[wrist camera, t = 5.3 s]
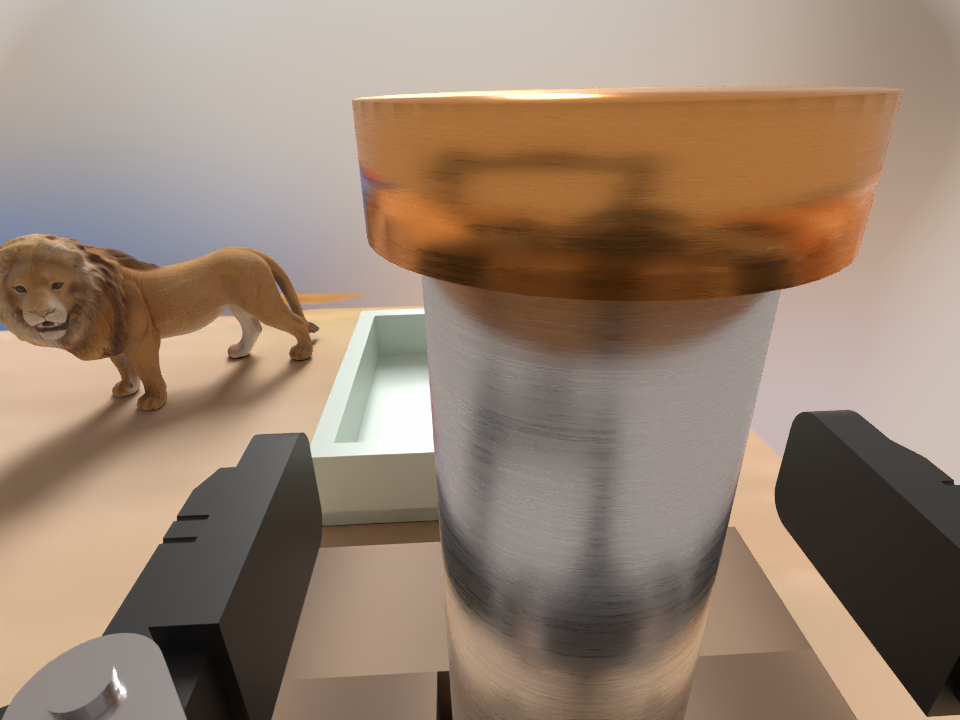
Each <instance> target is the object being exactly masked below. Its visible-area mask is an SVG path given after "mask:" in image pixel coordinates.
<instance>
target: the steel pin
mask: <svg viewBox="0 0 960 720" xmlns="http://www.w3.org/2000/svg"><path fill="white" fill-rule="evenodd" d="M903 91H904V90H902V89H894V88H877V87H876V88H875V87H831V86H830V87H829V86H826V87H825V86H735V87H734V86H728V87H726V86H722V87H721V86H719V87H643V88H641V87H639V88H588V89H587V88H586V89H545V90H511V91H509V90H508V91H480V92H479V91H478V92H451V93H427V94H407V95H389V96H375V97H364V98H357V99H352V105H353V114H354V123H355V132H356V141H357V150H358V159H359V168H360V177H361V187H362V196H363V205H364V214H365V222H366V232H367V239H368V242H369V245H370V246H371V247H372V248H373V250H374V251H375V252H376V253H377V254H379V255H380V256H382V257H383V258H385V259H386V260H388V261H389V262H391V263H394V264H396V265H398V266H400V267H403V268H405V269H407V270H410V271H413V272H416V273H419V274H422V283H423V298H424V312H425V327H426V341H427V356H428V370H429V385H430V399H431V414H432V428H433V443H434V457H435V472H436V486H437V501H438V515H439V530H440V544H441V559H442V573H443V588H444V602H445V617H446V631H447V646H448V660H449V675H450V689H451V704H452V718H453V720H684V718H685V714H686V709H687V705H688V700H689V696H690V691H691V687H692V682H693V678H694V674H695V669H696V665H697V660H698V656H699V651H700V647H701V643H702V638H703V634H704V629H705V625H706V620H707V616H708V611H709V607H710V603H711V598H712V594H713V589H714V585H715V580H716V576H717V572H718V567H719V563H720V558H721V554H722V549H723V545H724V541H725V536H726V532H727V527H728V523H729V518H730V514H731V509H732V505H733V501H734V496H735V492H736V487H737V483H738V478H739V474H740V470H741V465H742V461H743V456H744V452H745V447H746V443H747V438H748V434H749V430H750V425H751V421H752V416H753V411H754V407H755V403H756V399H757V394H758V390H759V385H760V381H761V376H762V372H763V368H764V363H765V359H766V354H767V350H768V345H769V340H770V336H771V332H772V328H773V323H774V318H775V314H776V310H777V305H778V301H779V297H780V292H781V289H786V288H791V287H795V286H799V285H802V284H806V283H810V282H813V281H816V280H820V279H822V278H825V277H827V276H829V275H832V274H834V273H837V272H839V271H840V270H842V269H843V268H845V267H846V266H848V265H849V264H851V263H852V261H853V260H854V259H855V257H856V256H857V254H858V252H859V248H860V244H861V241H862V237H863V233H864V230H865V226H866V223H867V219H868V216H869V212H870V208H871V205H872V202H873V198H874V194H875V191H876V187H877V184H878V180H879V177H880V173H881V169H882V166H883V162H884V159H885V155H886V152H887V148H888V144H889V141H890V137H891V133H892V130H893V127H894V123H895V119H896V116H897V112H898V109H899V105H900V101H901V98H902V95H903Z"/></svg>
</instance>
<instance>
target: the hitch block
mask: <svg viewBox="0 0 960 720" xmlns="http://www.w3.org/2000/svg"><path fill="white" fill-rule="evenodd" d="M271 720H453V718H452V704H451V689H450V675H449V660H448V646H447V631H446V617H445V602H444V588H443V573H442V559H441V544H440V542H425V543H405V544H385V545H365V546H345V547H326V548H319V551H318V555H317V558H316V562H315V566H314V569H313V573H312V576H311V580H310V583H309V587H308V591H307V594H306V598H305V601H304V605H303V608H302V612H301V616H300V619H299V623H298V626H297V630H296V633H295V637H294V641H293V644H292V648H291V651H290V655H289V659H288V662H287V666H286V669H285V673H284V676H283V680H282V684H281V687H280V691H279V694H278V698H277V701H276V705H275V709H274V712H273V716H272V719H271ZM684 720H857V718H856V716H855V715H854V713H853V712H852V710H851V709H850V707H849V705H848V704H847V702H846V701H845V699H844V698H843V696H842V694H841V693H840V691H839V690H838V688H837V687H836V685H835V683H834V682H833V680H832V679H831V677H830V676H829V674H828V673H827V671H826V669H825V668H824V666H823V665H822V663H821V662H820V660H819V658H818V657H817V655H816V654H815V652H814V651H813V649H812V647H811V646H810V644H809V643H808V641H807V640H806V638H805V636H804V635H803V633H802V632H801V630H800V629H799V627H798V625H797V624H796V622H795V621H794V619H793V618H792V616H791V614H790V613H789V611H788V610H787V608H786V607H785V605H784V603H783V602H782V600H781V599H780V597H779V596H778V594H777V592H776V591H775V589H774V588H773V586H772V585H771V583H770V581H769V580H768V578H767V577H766V575H765V574H764V572H763V570H762V569H761V567H760V566H759V564H758V563H757V561H756V559H755V558H754V556H753V555H752V553H751V552H750V550H749V548H748V547H747V545H746V544H745V542H744V541H743V539H742V537H741V536H740V534H739V533H738V531H737V530H736V528H735V527H727V532H726V536H725V541H724V545H723V549H722V554H721V558H720V563H719V567H718V572H717V576H716V580H715V585H714V589H713V594H712V598H711V603H710V607H709V611H708V616H707V620H706V625H705V629H704V634H703V638H702V643H701V647H700V651H699V656H698V660H697V665H696V669H695V674H694V678H693V682H692V687H691V691H690V696H689V700H688V705H687V709H686V714H685V718H684Z"/></svg>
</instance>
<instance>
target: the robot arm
mask: <svg viewBox="0 0 960 720" xmlns="http://www.w3.org/2000/svg"><path fill="white" fill-rule="evenodd" d="M775 504H776V509H777V512H778V515H779V518H780V520H781V522H782V524H783V525H784V527H785V528H786V529H787V531H788V532H789V533H790V535H791V536H792V537H793V539H794V540H795V541H796V543H797V544H798V545H799V547H800V548H801V549H802V551H803V552H804V553H805V555H806V556H807V557H808V559H809V560H810V561H811V563H812V564H813V565H814V567H815V568H816V569H817V571H818V572H819V573H820V575H821V576H822V577H823V579H824V580H825V581H826V583H827V584H828V585H829V587H830V588H831V589H832V591H833V592H834V594H835V595H836V596H837V598H838V599H839V600H840V602H841V603H842V604H843V606H844V607H845V608H846V610H847V611H848V612H849V614H850V615H851V616H852V618H853V619H854V620H855V622H856V623H857V624H858V626H859V627H860V628H861V630H862V631H863V632H864V634H865V635H866V636H867V638H868V639H869V640H870V642H871V643H872V644H873V646H874V647H875V648H876V650H877V651H878V652H879V654H880V655H881V656H882V658H883V659H884V660H885V662H886V663H887V664H888V666H889V667H890V668H891V670H892V671H893V672H894V674H895V675H896V676H897V678H898V679H899V680H900V682H901V683H902V684H903V686H904V687H905V688H906V690H907V691H908V692H909V694H910V695H911V696H912V698H913V699H914V700H915V702H916V703H917V704H918V706H919V707H920V708H921V710H922V711H923V712H924V714H925V715H926V716H927V717H931V716H947V715H960V485H954V480H953V479H951V478H950V477H949V476H948V475H946V474H945V473H944V472H943V471H941V470H940V469H939V468H937V467H936V466H935V465H934V464H932V463H931V462H930V461H929V460H928V459H926V458H925V457H923V456H921V455H919V454H917V453H915V452H913V451H911V450H909V449H907V448H905V447H903V446H901V445H899V444H897V443H895V442H893V441H891V440H890V439H889V438H887V437H886V436H885V435H884V434H882V433H881V432H880V431H879V430H878V429H876V428H875V427H874V426H873V425H872V424H870V423H869V422H868V421H867V420H865V419H864V418H863V417H862V416H861V415H859V414H858V413H856V412H854V411H850V410H839V411H838V410H837V411H815V412H802V413H800V414H798V415H797V416H796V417H795V419H794V421H793V423H792V426H791V429H790V433H789V437H788V440H787V444H786V449H785V452H784V456H783V459H782V463H781V467H780V471H779V475H778V478H777V482H776V487H775ZM321 536H322V509H321V503H320V498H319V492H318V487H317V482H316V476H315V471H314V466H313V460H312V455H311V450H310V445H309V441H308V438H307V436H306V434H305V433H283V434H260V435H255V436H254V437H253V438H252V440H251V441H250V443H249V445H248V447H247V448H246V450H245V452H244V454H243V456H242V457H241V459H240V461H239V463H238V465H237V466H236V467H229V468H220V469H218V470H217V471H216V472H215V473H214V474H212V475H211V476H210V477H209V478H207V479H206V480H205V481H204V482H203V483H201V484H200V485H199V486H198V487H197V488H195V489H194V490H193V491H192V493H191V495H190V496H189V498H188V499H187V501H186V503H185V504H184V506H183V507H182V509H181V511H180V512H179V514H178V515H177V521H174V522H173V523H172V525H171V526H170V528H169V530H168V531H167V533H166V534H165V536H164V538H163V544H159V546H158V547H157V549H156V550H155V552H154V554H153V555H152V557H151V558H150V560H149V562H148V563H147V565H146V566H145V568H144V570H143V571H142V573H141V574H140V576H139V578H138V579H137V581H136V582H135V584H134V586H133V587H132V589H131V590H130V592H129V594H128V595H127V597H126V598H125V600H124V601H123V603H122V605H121V606H120V608H119V609H118V611H117V613H116V614H115V616H114V617H113V619H112V621H111V622H110V624H109V625H108V627H107V629H106V630H105V632H104V633H103V635H102V636H101V637H98V638H95V639H92V640H89V641H87V642H85V643H82V644H80V645H78V646H76V647H74V648H72V649H70V650H68V651H67V652H65V653H63V654H61V655H60V656H58V657H57V658H55V659H54V660H52V661H51V662H49V663H48V664H47V665H46V666H44V667H43V668H42V669H41V670H40V671H38V672H37V673H36V674H35V675H34V676H33V677H32V678H31V679H30V680H29V681H28V682H27V683H26V684H25V685H24V686H23V687H22V688H21V690H20V691H19V692H18V693H17V694H16V696H15V697H14V699H13V700H12V702H11V703H10V705H7V706H5V707H2V708H0V720H271V719H272V716H273V712H274V709H275V705H276V701H277V698H278V694H279V691H280V687H281V684H282V680H283V676H284V673H285V669H286V666H287V662H288V659H289V655H290V651H291V648H292V644H293V641H294V637H295V633H296V630H297V626H298V623H299V619H300V616H301V612H302V608H303V605H304V601H305V598H306V594H307V591H308V587H309V583H310V580H311V576H312V573H313V569H314V566H315V562H316V558H317V555H318V551H319V547H320V543H321Z"/></svg>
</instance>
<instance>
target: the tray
mask: <svg viewBox="0 0 960 720" xmlns="http://www.w3.org/2000/svg"><path fill="white" fill-rule="evenodd" d="M310 450H311V455H312V460H313V466H314V471H315V476H316V482H317V487H318V492H319V498H320V503H321V509H322V526H328V525H348V524H368V523H389V522H409V521H429V520H439V515H438V501H437V486H436V472H435V457H434V443H433V428H432V414H431V399H430V385H429V370H428V356H427V341H426V327H425V312H424V309H398V310H371V311H362V312H361V314H360V317H359V319H358V322H357V325H356V327H355V330H354V333H353V335H352V338H351V340H350V343H349V346H348V348H347V351H346V353H345V356H344V359H343V361H342V364H341V367H340V369H339V372H338V374H337V377H336V380H335V382H334V385H333V387H332V390H331V393H330V395H329V398H328V400H327V403H326V406H325V408H324V411H323V414H322V416H321V419H320V421H319V424H318V427H317V429H316V432H315V434H314V437H313V440H312V442H311V445H310Z"/></svg>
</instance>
